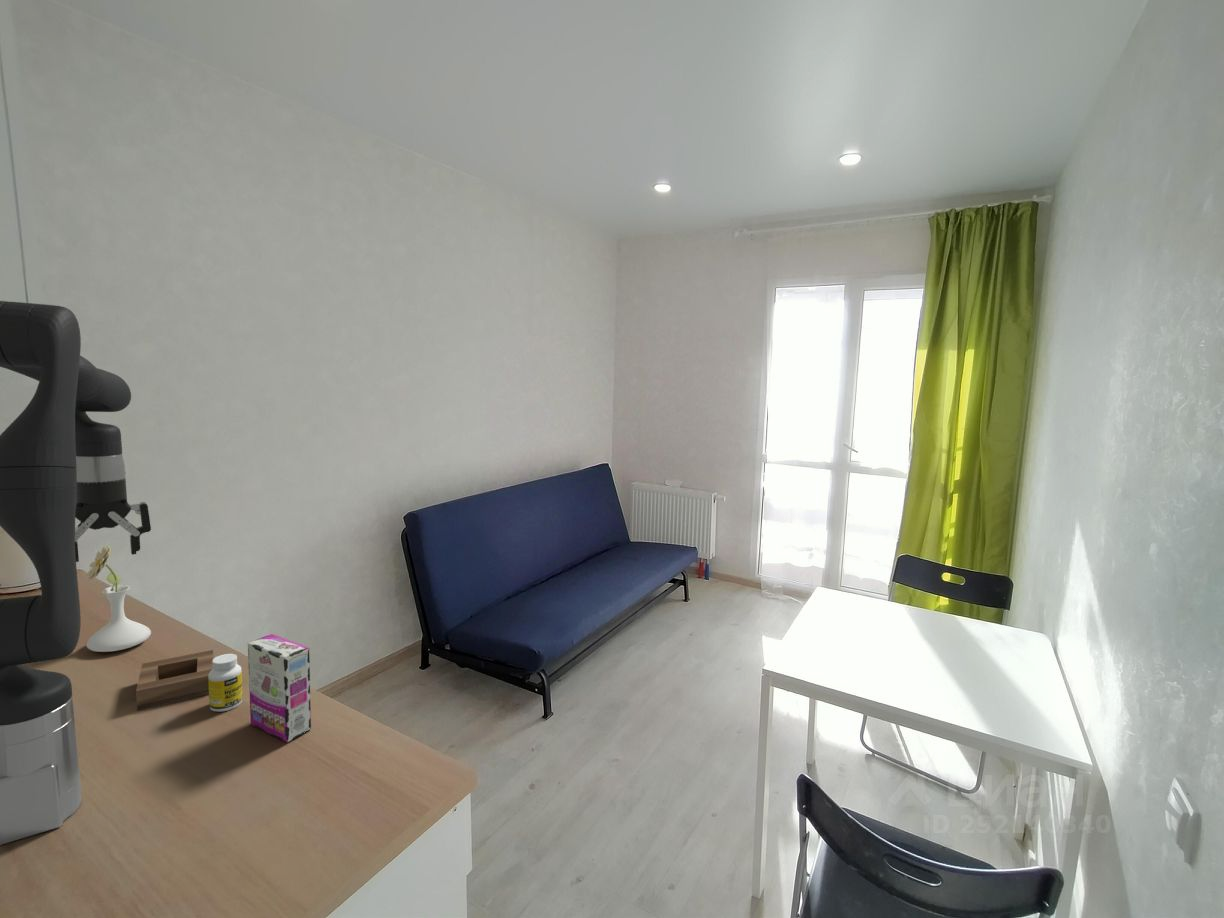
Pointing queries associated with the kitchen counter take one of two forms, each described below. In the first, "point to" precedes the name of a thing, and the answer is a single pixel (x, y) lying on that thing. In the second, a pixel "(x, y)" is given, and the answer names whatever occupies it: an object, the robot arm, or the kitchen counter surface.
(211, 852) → the kitchen counter surface
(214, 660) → the supplement bottle
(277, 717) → the candy bar box
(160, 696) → the socket block
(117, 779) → the kitchen counter surface
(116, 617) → the flower in vase
